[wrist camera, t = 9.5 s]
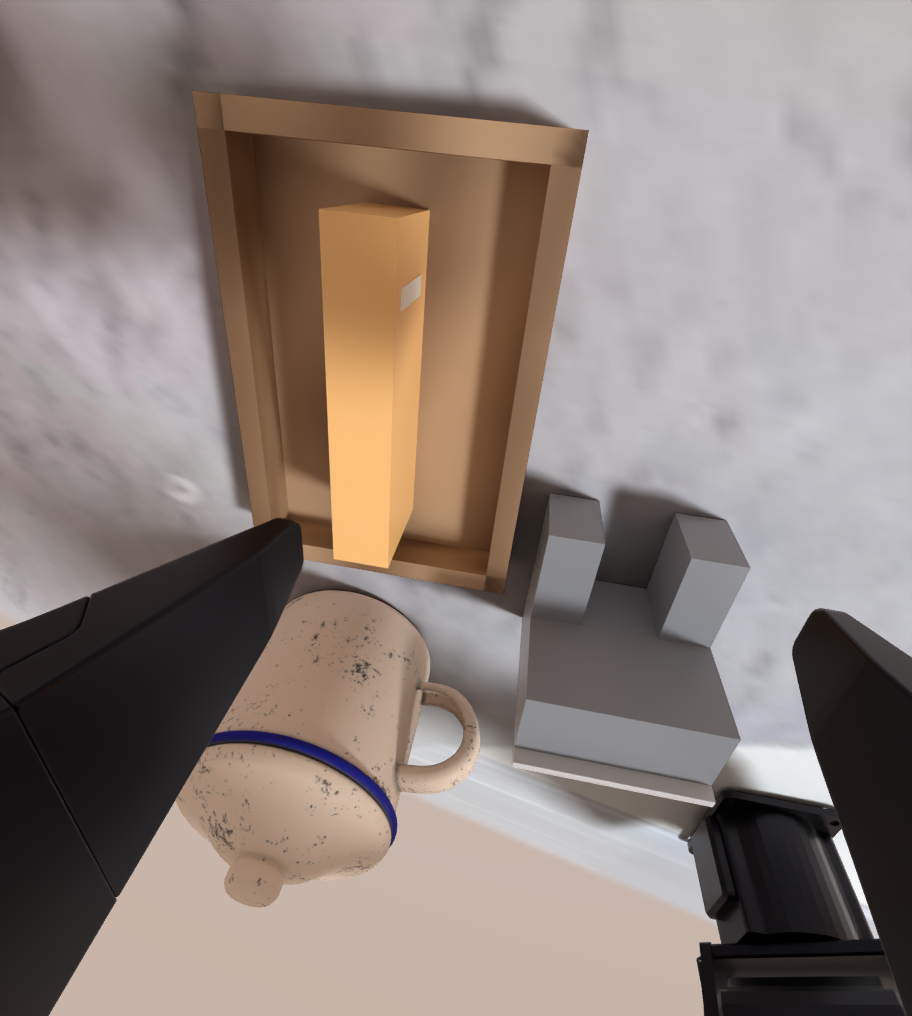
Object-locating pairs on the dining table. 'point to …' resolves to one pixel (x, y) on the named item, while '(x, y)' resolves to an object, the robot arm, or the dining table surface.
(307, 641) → the teacup with lid
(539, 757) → the grey slotted holder
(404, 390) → the tan elongated block
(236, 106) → the tray
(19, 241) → the dining table surface
